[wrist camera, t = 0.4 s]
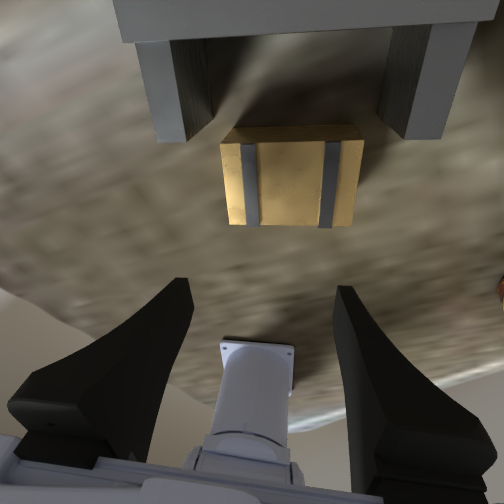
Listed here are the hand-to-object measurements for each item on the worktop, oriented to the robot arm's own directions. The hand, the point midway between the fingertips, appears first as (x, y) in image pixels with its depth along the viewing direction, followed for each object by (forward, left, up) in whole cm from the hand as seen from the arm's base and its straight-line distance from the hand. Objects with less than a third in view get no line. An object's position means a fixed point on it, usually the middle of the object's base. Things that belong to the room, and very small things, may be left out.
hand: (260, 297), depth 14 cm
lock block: (+3, -1, -10) cm, 10 cm away
